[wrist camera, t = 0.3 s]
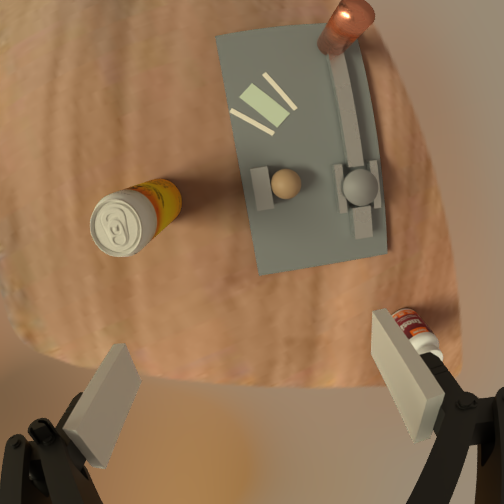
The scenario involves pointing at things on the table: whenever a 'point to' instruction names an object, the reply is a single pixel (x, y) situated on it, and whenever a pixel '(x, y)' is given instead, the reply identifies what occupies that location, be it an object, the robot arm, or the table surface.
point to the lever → (348, 104)
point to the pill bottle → (417, 332)
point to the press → (298, 147)
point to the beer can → (134, 216)
